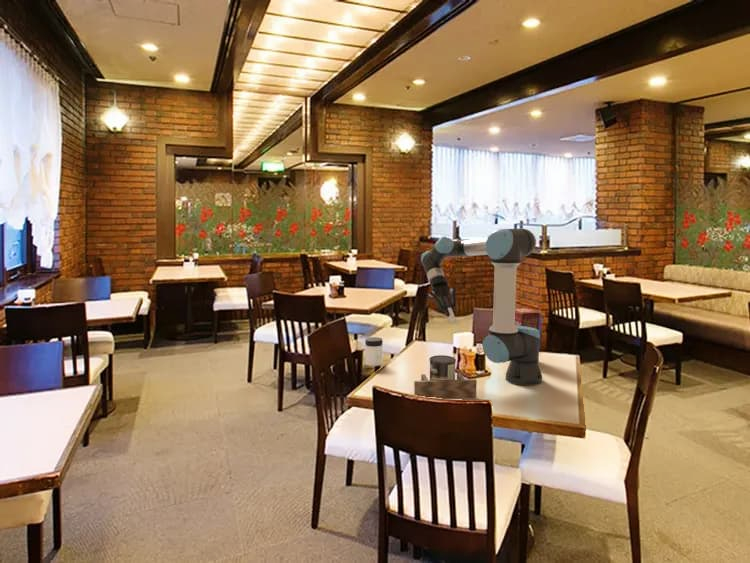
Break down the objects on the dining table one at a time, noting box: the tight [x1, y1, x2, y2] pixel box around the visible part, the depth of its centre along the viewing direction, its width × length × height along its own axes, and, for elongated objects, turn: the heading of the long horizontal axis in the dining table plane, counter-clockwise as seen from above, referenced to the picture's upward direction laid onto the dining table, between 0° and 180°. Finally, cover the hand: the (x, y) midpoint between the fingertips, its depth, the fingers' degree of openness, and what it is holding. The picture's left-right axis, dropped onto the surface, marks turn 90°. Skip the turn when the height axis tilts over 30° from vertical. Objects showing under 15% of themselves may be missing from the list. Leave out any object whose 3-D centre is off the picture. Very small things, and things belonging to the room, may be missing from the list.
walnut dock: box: [413, 372, 478, 399], centre depth 209 cm, size 24×10×7 cm, turn 94°
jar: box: [364, 336, 384, 367], centre depth 251 cm, size 9×8×12 cm
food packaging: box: [514, 307, 540, 332], centre depth 253 cm, size 13×9×25 cm
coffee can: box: [429, 354, 457, 380], centre depth 210 cm, size 10×10×14 cm
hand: (453, 321), depth 230 cm, fingers closed
